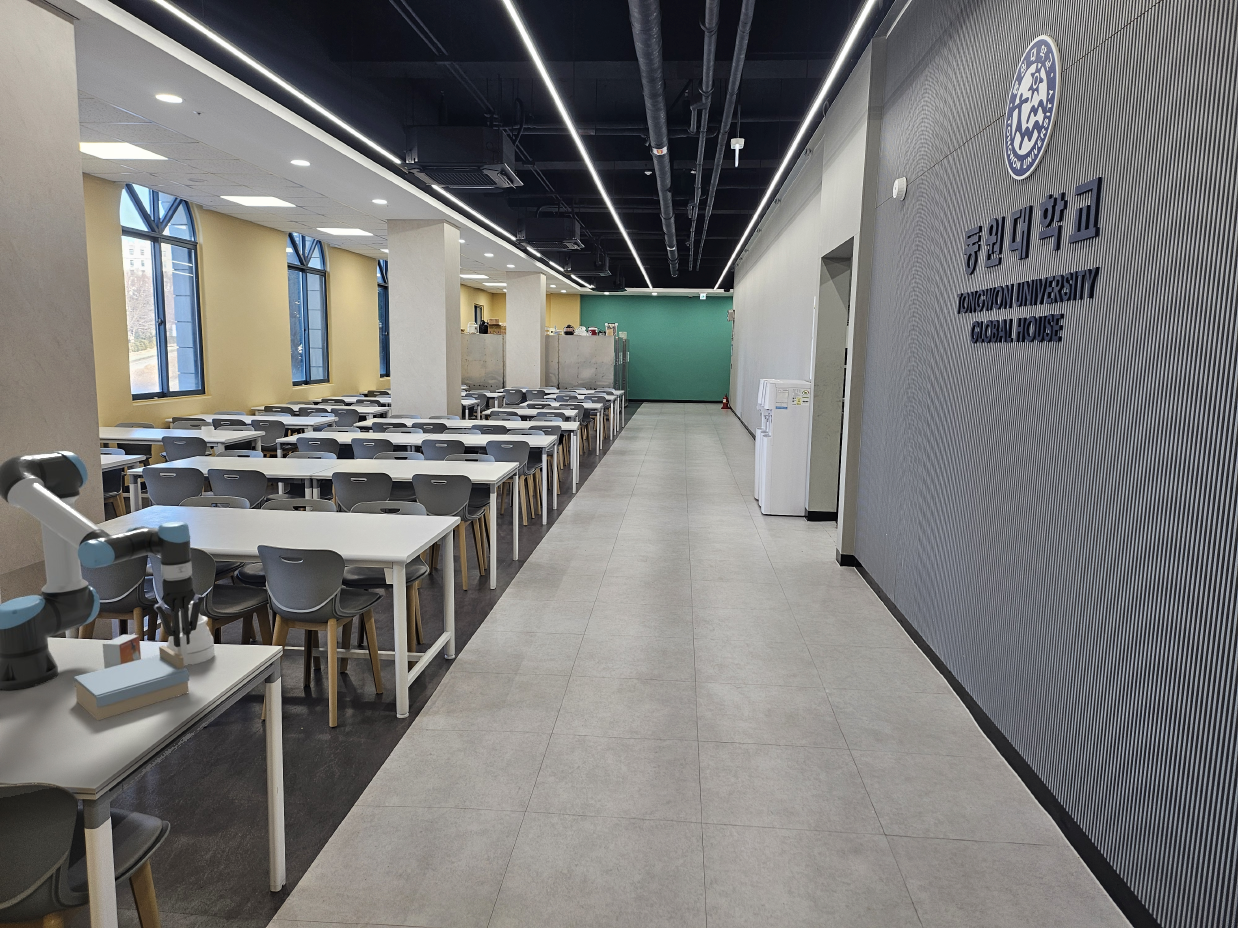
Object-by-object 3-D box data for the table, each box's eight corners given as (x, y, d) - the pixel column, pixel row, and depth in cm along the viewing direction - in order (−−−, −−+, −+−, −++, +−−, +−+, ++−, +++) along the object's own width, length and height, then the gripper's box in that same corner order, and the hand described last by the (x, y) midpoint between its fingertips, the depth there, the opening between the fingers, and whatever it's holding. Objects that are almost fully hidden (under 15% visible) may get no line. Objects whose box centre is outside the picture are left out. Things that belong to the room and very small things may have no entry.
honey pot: (222, 649, 248) (218, 595, 246) (200, 665, 235) (196, 608, 233) (182, 649, 248) (178, 595, 246) (158, 665, 236) (153, 608, 233)
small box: (121, 679, 225) (118, 644, 224) (104, 678, 226) (101, 643, 225) (142, 668, 233) (139, 634, 232) (126, 667, 234) (123, 633, 232)
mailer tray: (76, 701, 211) (74, 680, 210) (164, 676, 228) (163, 656, 227) (97, 720, 200) (95, 698, 199) (188, 692, 217) (187, 672, 216)
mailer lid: (74, 686, 211) (72, 665, 210) (162, 662, 228) (161, 643, 227) (97, 707, 199) (95, 684, 198) (189, 680, 216) (187, 659, 215)
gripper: (157, 584, 212) (163, 666, 216) (207, 574, 222) (212, 653, 225) (146, 579, 217) (152, 659, 220) (195, 569, 227) (201, 646, 230)
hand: (182, 656), depth 223 cm, fingers closed
